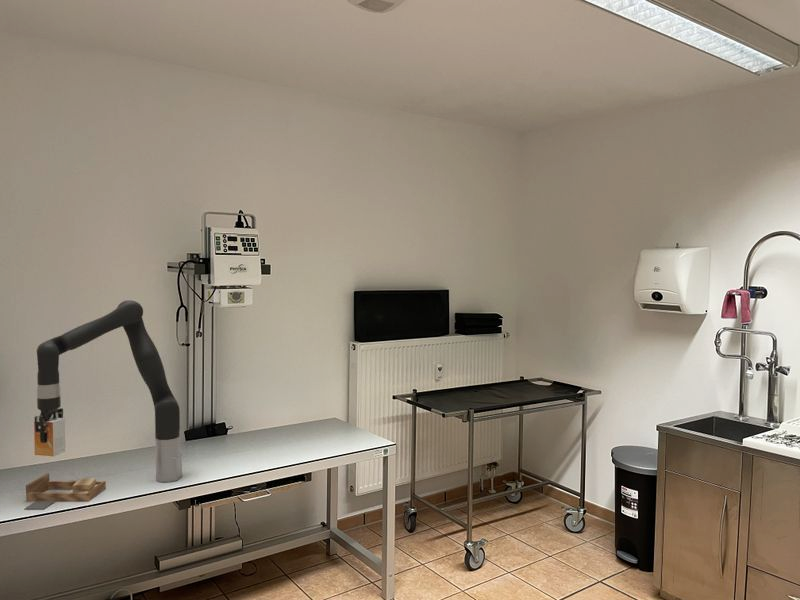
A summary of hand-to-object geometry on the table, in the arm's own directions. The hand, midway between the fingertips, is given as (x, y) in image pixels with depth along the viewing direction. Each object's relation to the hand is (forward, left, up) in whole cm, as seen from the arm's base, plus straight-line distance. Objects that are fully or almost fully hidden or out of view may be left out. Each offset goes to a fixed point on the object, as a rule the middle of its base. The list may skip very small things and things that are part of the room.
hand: (49, 439), depth 225 cm
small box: (0, 0, -6) cm, 6 cm away
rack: (-4, -3, -22) cm, 23 cm away
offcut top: (-11, -3, -20) cm, 23 cm away
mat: (0, +8, -22) cm, 23 cm away
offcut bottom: (-11, -3, -23) cm, 25 cm away
